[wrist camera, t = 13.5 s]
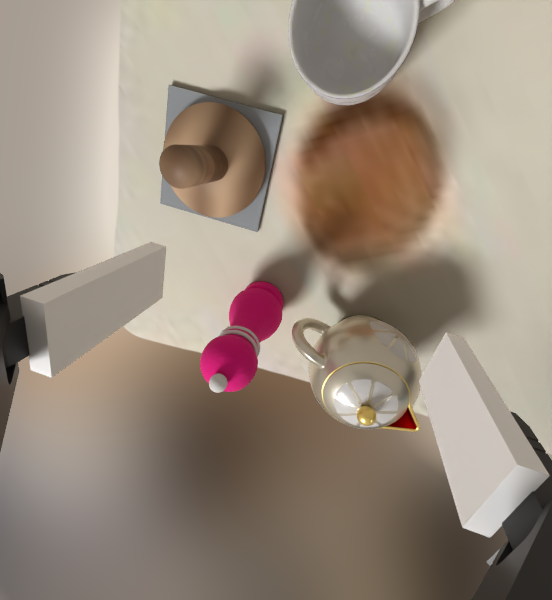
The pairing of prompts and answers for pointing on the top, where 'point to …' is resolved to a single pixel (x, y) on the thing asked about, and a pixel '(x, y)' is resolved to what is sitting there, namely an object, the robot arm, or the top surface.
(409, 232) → the top surface
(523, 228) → the top surface
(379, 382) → the teapot
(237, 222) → the mat
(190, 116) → the lid
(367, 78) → the teacup
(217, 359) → the pepper mill
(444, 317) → the top surface
